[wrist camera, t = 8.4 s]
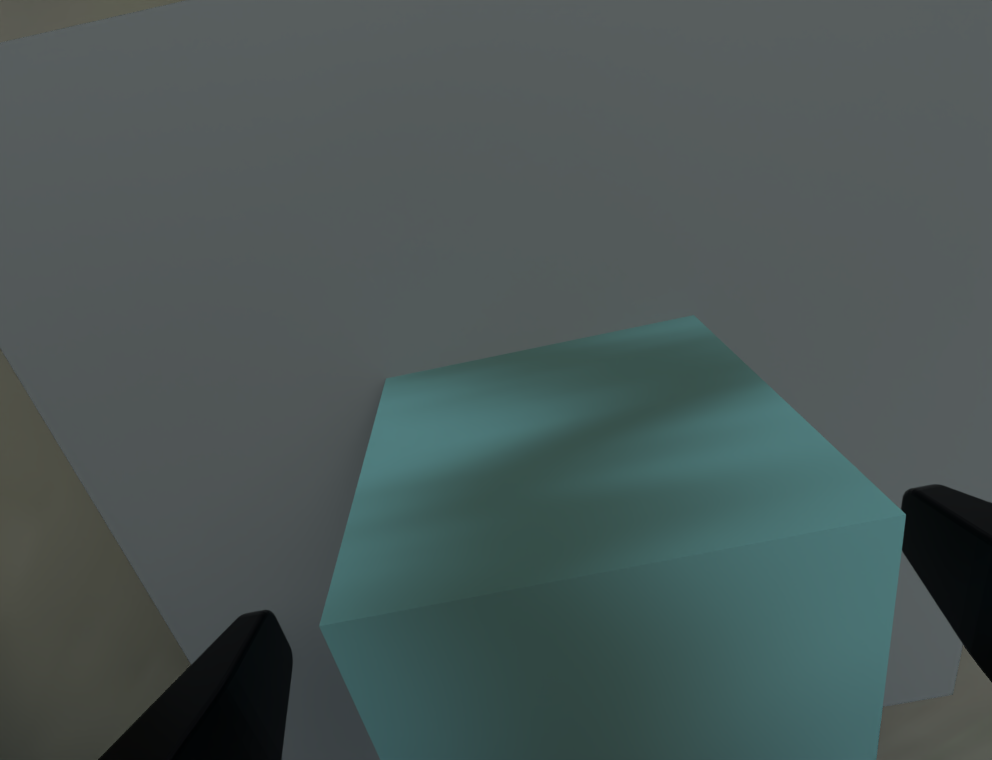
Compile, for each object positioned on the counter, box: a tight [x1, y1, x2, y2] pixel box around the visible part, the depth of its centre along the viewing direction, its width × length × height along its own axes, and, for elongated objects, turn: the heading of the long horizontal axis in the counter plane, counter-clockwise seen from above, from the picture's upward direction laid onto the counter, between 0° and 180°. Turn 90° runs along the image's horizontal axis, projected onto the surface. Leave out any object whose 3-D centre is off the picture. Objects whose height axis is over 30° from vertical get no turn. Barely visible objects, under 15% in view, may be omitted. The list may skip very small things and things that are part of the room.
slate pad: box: [0, 0, 992, 760], centre depth 11 cm, size 16×16×1 cm
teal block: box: [319, 315, 906, 760], centre depth 8 cm, size 5×5×5 cm
